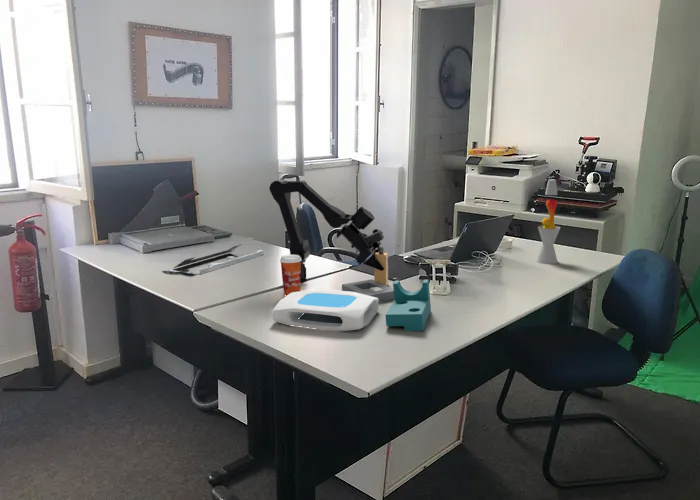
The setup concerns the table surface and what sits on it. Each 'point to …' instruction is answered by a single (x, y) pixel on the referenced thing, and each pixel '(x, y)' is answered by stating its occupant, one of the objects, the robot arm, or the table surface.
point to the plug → (383, 259)
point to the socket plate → (370, 289)
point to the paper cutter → (215, 266)
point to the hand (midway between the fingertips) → (384, 268)
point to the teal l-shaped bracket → (409, 307)
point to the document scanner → (327, 309)
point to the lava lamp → (549, 228)
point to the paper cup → (291, 273)
